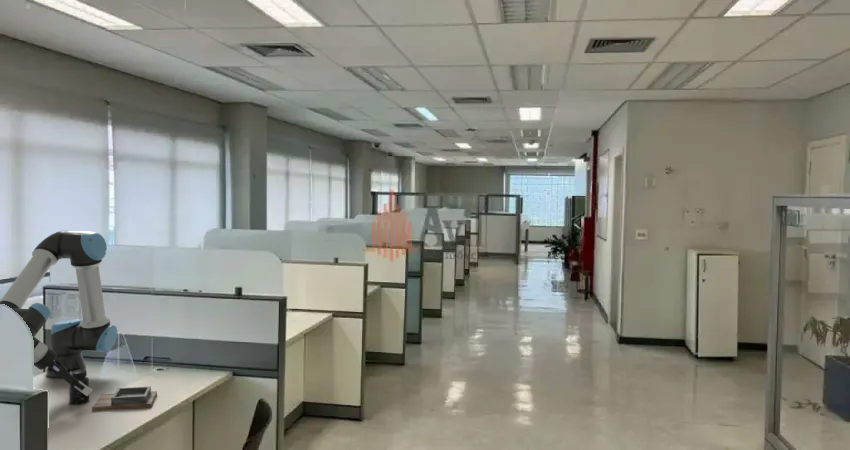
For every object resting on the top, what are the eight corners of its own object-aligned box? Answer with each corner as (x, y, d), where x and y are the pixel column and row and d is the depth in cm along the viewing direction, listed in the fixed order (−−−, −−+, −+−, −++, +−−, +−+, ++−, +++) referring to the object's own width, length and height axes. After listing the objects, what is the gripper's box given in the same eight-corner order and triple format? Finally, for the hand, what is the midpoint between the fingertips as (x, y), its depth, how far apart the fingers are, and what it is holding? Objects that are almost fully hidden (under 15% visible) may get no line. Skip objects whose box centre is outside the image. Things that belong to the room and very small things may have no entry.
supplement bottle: (66, 401, 237) (66, 370, 237) (86, 398, 242) (86, 367, 242) (72, 406, 233) (72, 375, 232) (91, 402, 237) (92, 371, 237)
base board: (101, 397, 243) (101, 387, 243) (156, 394, 249) (156, 385, 248) (92, 410, 229) (92, 400, 229) (150, 407, 234) (151, 397, 234)
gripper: (26, 356, 236) (70, 387, 246) (37, 372, 217) (85, 405, 228) (42, 340, 239) (85, 372, 250) (55, 354, 220) (101, 388, 231)
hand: (85, 388), depth 239 cm, fingers open, 13 cm apart
